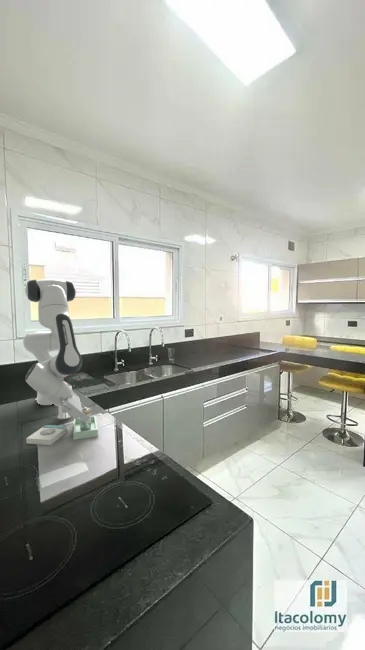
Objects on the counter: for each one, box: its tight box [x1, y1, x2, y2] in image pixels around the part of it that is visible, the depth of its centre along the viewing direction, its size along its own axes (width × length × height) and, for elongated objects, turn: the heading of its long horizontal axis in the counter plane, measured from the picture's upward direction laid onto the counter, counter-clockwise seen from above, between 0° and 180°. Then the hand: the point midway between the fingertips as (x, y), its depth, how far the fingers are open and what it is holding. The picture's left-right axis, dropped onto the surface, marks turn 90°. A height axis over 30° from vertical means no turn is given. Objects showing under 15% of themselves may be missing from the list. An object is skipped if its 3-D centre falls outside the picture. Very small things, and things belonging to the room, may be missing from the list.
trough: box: [72, 415, 99, 441], centre depth 118 cm, size 15×9×3 cm, turn 21°
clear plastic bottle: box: [57, 383, 73, 421], centre depth 132 cm, size 7×7×15 cm
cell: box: [80, 406, 92, 431], centre depth 116 cm, size 4×4×10 cm
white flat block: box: [25, 424, 68, 446], centre depth 112 cm, size 12×10×2 cm
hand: (86, 414), depth 118 cm, fingers open, 8 cm apart
